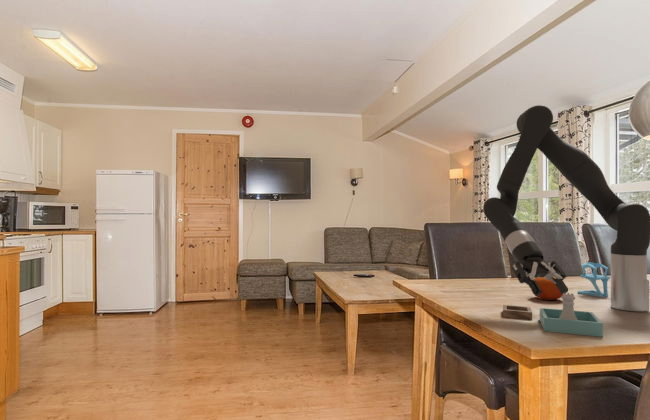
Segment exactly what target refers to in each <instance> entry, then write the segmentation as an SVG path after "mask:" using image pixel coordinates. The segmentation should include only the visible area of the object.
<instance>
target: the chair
mask: <svg viewBox="0 0 650 420" xmlns="http://www.w3.org/2000/svg"><path fill="white" fill-rule="evenodd" d="M581 268H582V274H580V278H583V279H586V280H588V281H589V282H590V283H591V284H592V286H593V287H594V289H593V290H592V289H591V290H589V289H587V290H577V292H576V293H577V294H579V295H586V296H592V297H598V298H604V297H605V298H608V297H609V293H608V292H609V291H608V290H609V289H608V281H609V280H611V276H608V271H609V267H607V266H606V265H605V264H602V263H600V262H599V263H598V262H596V263H595V262H591V261H588V262H585V263H583V264H582V265H581ZM586 268H587V269H588V268H590V269H592V273H590V274H586V273H587V271H586ZM598 268H603V269H604V270H605V271H604V272H603V275H600V274H598V273H597V271H598ZM600 280H601V282H602V289H603V292H602V291H601V289H600V288H599V286H598V283H597V281H600Z"/></svg>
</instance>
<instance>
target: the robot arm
mask: <svg viewBox="0 0 650 420" xmlns="http://www.w3.org/2000/svg"><path fill="white" fill-rule="evenodd" d="M553 122H554V115H553V112H552V110H551V109H550V108H549V107H548V106H546V105H542V104H538V105H533V106H530V107H528V109H526V110H525V111H524V112H522V113H521V114H520V115H519V116H518V117H517V119H516V128H517V131H518V132H519V133H520V136H519V139H518V141H517V143H516V146H515V148H514V150H513V151H512V153H511V154H510V157H509V158H508V159H507V161H506V163H505V165H504V167H503V169H502V172H501V174H500V177H499V179H498V182H497V185H496V190H497V191H498V192H499V194H500V198H499V197H493V196H492V197H490V198H488V199H486V200H485V201H484V203H483V206H482V209H483V213H484V216H485V217H486V219H487V220H488V221H489V222H490V223H491V225H492V226H493V227H494V228H495V229H496V230H497V231H498V232H499V234H500V236H501V237H502V239H503V241H504V243H505V244H506V247H507V248H508V251H509V252H510V254H511V255H512V257H513V259H514V260H515V263H514V264H513V265H512V267H511V269H512V270H513V272H514V275H515V277H516V279H517V280H518V282H519V284H526V285H527V286H528V287H529V288H530V290H531V293H532V292H533V293H534V294H535V295H536V296H539V295H540V294H541V293H542V290H541V288H540V287H539V285H538V284H537V282H536V280H534V279H535V278H537V277H544V278H545V279H547V280H551V281H552V282H554V283H555V285H556V287H557V288H558V290H559V291H560V293H561V294H563V293H566V294H567V293H569V292H568V291H569V288H568V286H567V285H566V283H565V282H564V281H565V278H567V274H566V273H565V272H564V270H563V269H562V267H560V265H559V264H558V263H557V261H556V260H552V261H551V262H548V261H547V260H545V259H544V253H543V251H542V250H541V248H540V247H539V246H538V244H537V242H536V241H535V239H534V238H533V237H532V236H531V235H530V234H529V233H528V231H527V229H526V228H525V227H524V225H523V224H522V223H521V221H520V220H518V218H516V217H515V215H516V212H517V207H518V201H519V191H520V189H521V187H522V185H523V182H524V180H525V177H526V175H527V173H528V169H529V167H530V165H531V163H532V160H533V158H534V156H535V154H536V152H537V150H539V151H540V152H541V153H542V154H543V155H544V157H546V158H547V160H548V161H549V162H550V163H551V164H552V165H553V166H554V167H555V168H556V169H557V170H558V172H560V174H561V175H562V176H563V177H564V178H565V179H566V180H567V181H568V182H569V183H570V184H571V185H572V186H573V187H574V188H575V189H576V190H577V191H578V192H579V193H580V195H582V196H583V197H584V198H585V199H586V200H587V201H588V202H589V203H591V205H592V206H593V207H594V208H595V210H596V211H597V212H598V214H599V215H600V216H601V218H603V220H604V221H605V223H606V224H607V225H608V226H609V228H611V229H613V230H615V231H616V240H615V242H613V243H612V244H611V245H610V307H611V308H613V309H616V310H623V311H627V312H628V311H629V312H650V280H649V279H648V278H647V277H648V265H647V264H648V262H647V261H648V258H647V257H648V249H649V247H650V212H649V209H648V208H647V207H645V206H644V205H642V204H639V203H635V202H634V203H626V202H625V201H623V200H622V199H621V198H620V197H619V196H618V195H616V193H614V191H613V190H612V189H611V188H610V187H609V185H608V182H607V180H606V178H605V175H604V173H603V171H602V170H601V169H602V168H601V167H600V166H599V165H598V164H597V163H596V162H595V161H594V160H593V159H592V158H591V157H590V156H589V155H588V154H587V153H586V152H584V150H583V149H580V148H579V147H578V146H575V145H574V144H572V143H569V142H568V141H566V140H564V139H563V138H561V137H560V136H559V135H558V134H557V133H556V132H555V131H554V130H553V129H552V128H551V127H552V124H553ZM549 272H550V273H549ZM548 273H549V274H548ZM553 277H556V279H555V278H553ZM533 293H532V294H533ZM534 294H533V295H534ZM535 295H534V296H535ZM536 296H535V297H536Z"/></svg>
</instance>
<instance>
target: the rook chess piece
mask: <svg viewBox="0 0 650 420" xmlns="http://www.w3.org/2000/svg"><path fill="white" fill-rule="evenodd" d="M560 299H562V302H561V303H562V308H561V309H562V313H561V315H560V316H559V319H569V320H578V319H577V318H576V317H575V316H576V315H575V313H574V311H575V309H574V305H575V302H574V301H575V299H576V297H575V294H574V293H570V292H567V293H563V295H562V296H561V298H560Z"/></svg>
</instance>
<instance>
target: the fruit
mask: <svg viewBox="0 0 650 420" xmlns="http://www.w3.org/2000/svg"><path fill="white" fill-rule="evenodd" d="M552 277H553V278H555V279H556V277H555V276H552ZM534 280H536V282H537V284H538V285H539V287H540V288H541V290H542V293H541V294H540V295H539V296H536V295H535V294H534V293H533V292H532V291H531V293H532V294H533V295H534V297H536V298H538V299H540V300H544V301H555V300H559V299H562V298H561V296H562V295H563V294H561V293H560V291H559V290H558V288H557V287H556V285H555V283H554V282H552V281H551V280H547V279H545V278H544V277H537V278H534Z"/></svg>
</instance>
